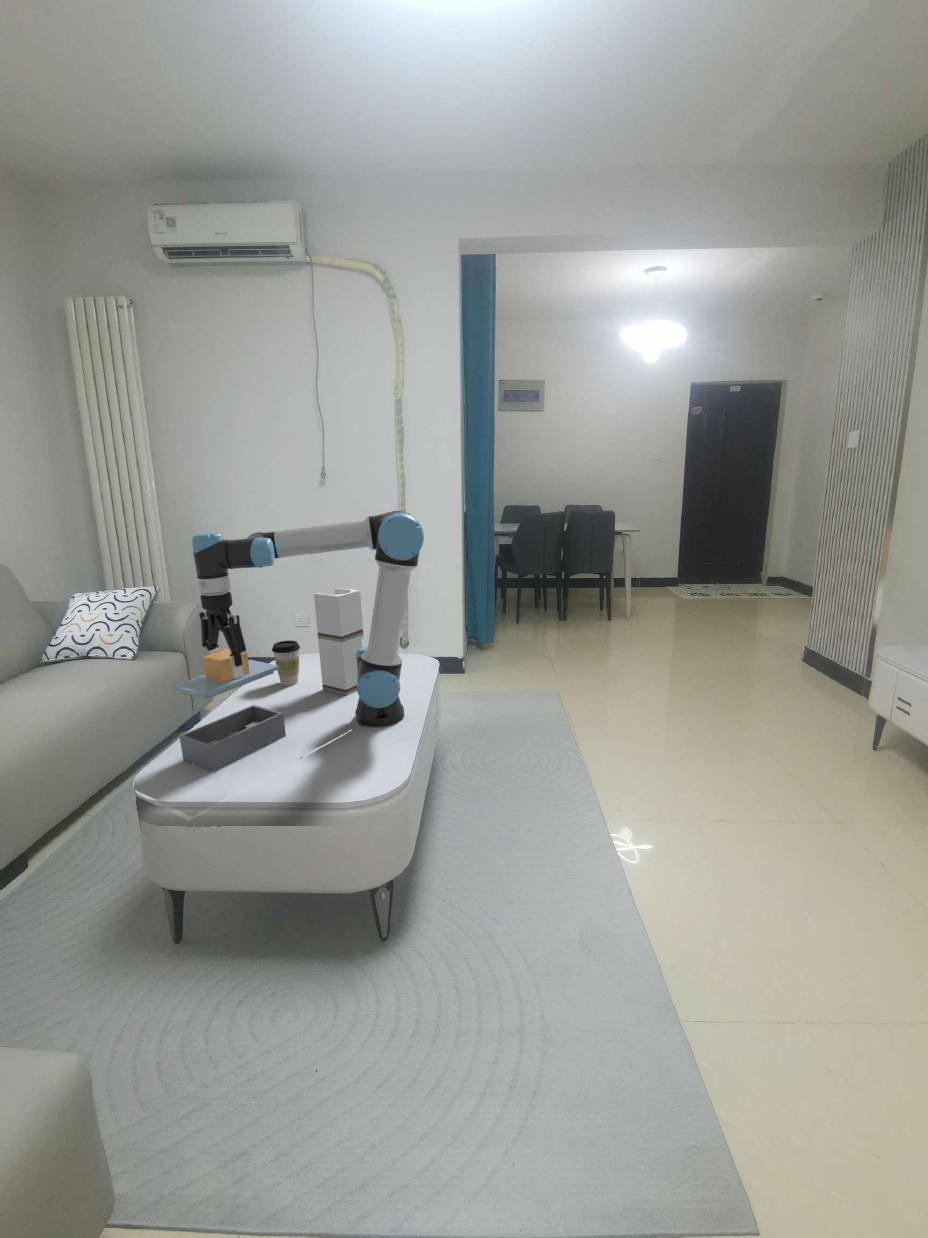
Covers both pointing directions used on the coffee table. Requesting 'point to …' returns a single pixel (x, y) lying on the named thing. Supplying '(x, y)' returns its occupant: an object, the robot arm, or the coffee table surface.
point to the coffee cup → (287, 661)
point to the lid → (223, 675)
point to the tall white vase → (339, 638)
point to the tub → (232, 737)
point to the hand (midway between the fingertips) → (227, 674)
